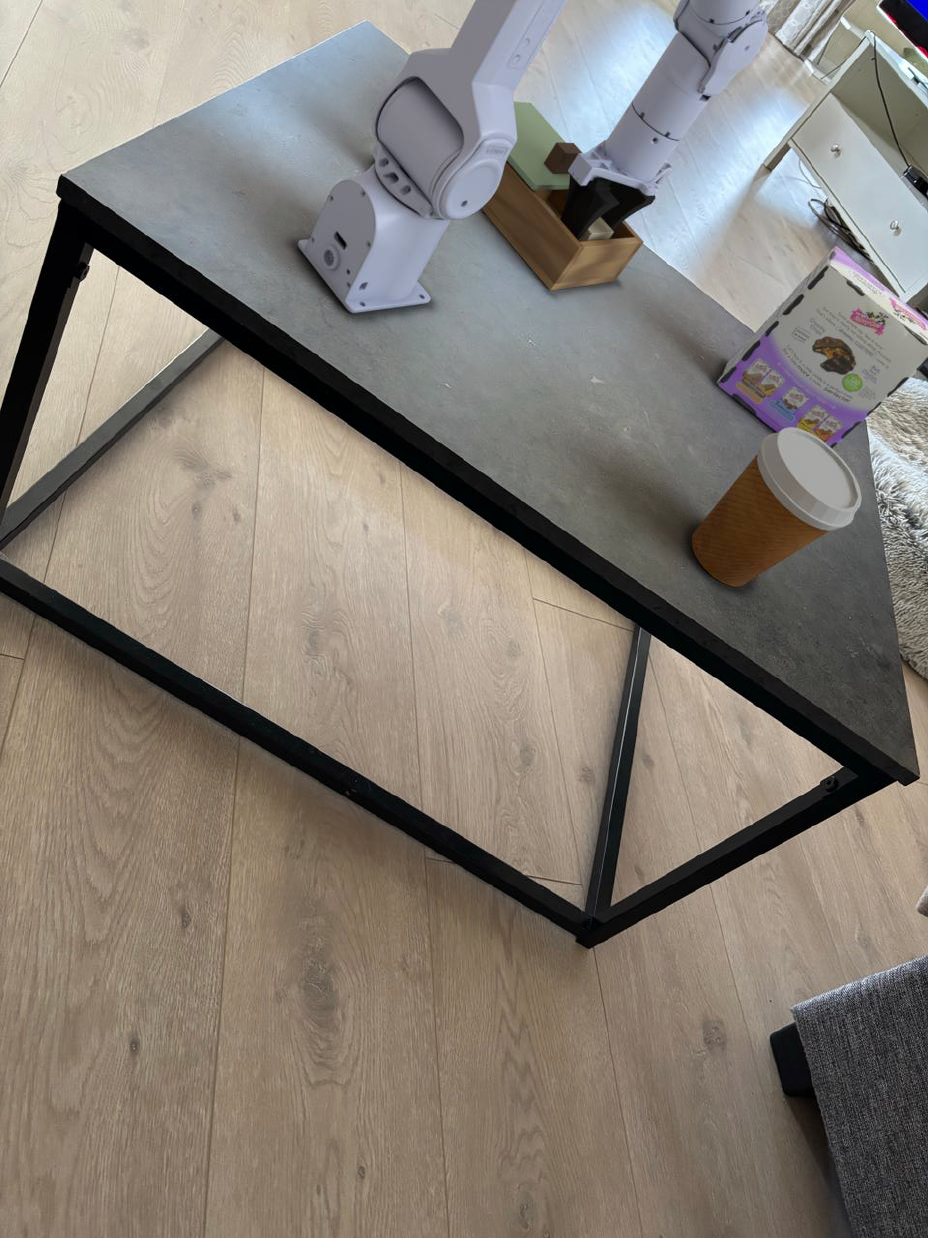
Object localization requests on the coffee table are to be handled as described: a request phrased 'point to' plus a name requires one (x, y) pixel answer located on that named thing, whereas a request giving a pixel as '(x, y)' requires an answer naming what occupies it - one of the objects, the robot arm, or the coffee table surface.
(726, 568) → the disposable coffee cup
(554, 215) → the oak box
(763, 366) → the candy box
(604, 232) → the block
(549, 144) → the sliding lid
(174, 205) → the coffee table surface
